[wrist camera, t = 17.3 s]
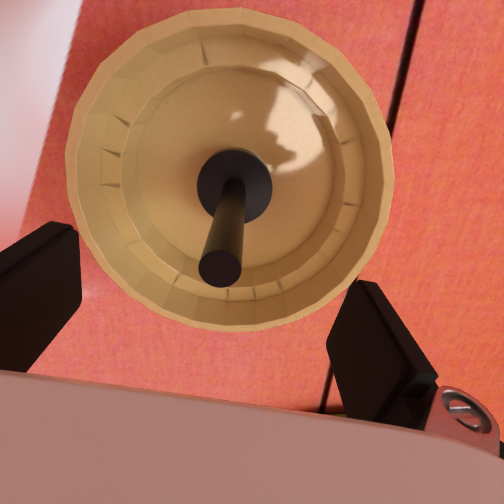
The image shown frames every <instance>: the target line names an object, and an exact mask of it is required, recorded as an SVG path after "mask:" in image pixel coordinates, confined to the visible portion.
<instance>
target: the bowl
mask: <svg viewBox="0 0 504 504" xmlns="http://www.w3.org/2000/svg"><path fill="white" fill-rule="evenodd" d="M226 148H243V149H246V150H249V151H251V152H253V153H254V154H256V155H257V156H259V157H260V158H261V159H262V160H263V162H264V163H265V164H266V166H267V168H268V170H269V172H270V176H271V180H272V187H273V189H272V197H271V200H270V203H269V205H268V207H267V208H266V210H265V211H264V212H263V213H262V214H261V215H260V216H259V217H258V218H256V219H255V220H253V221H251V222H248V223H245V224H244V236H243V255H242V272H241V276H240V278H239V279H238V281H237V282H236V283H234V284H233V285H231V286H229V287H225V288H216V287H213V286H210V285H208V284H207V283H205V282H204V281H203V280H202V278H201V276H200V274H199V271H198V265H199V261H200V258H201V255H202V252H203V249H204V246H205V243H206V240H207V236H208V233H209V230H210V227H211V224H212V221H213V217H212V216H210V215H209V214H208V213H207V212H206V210H205V209H204V208H203V206H202V205H201V203H200V201H199V198H198V194H197V179H198V175H199V172H200V170H201V168H202V167H203V165H204V164H205V162H206V161H207V160H208V159H209V158H210V157H211V156H212V155H213V154H215V153H216V152H218V151H220V150H223V149H226ZM64 155H65V171H66V187H67V196H68V200H69V203H70V206H71V209H72V212H73V215H74V218H75V221H76V224H77V227H78V230H79V233H80V235H81V237H82V239H83V240H84V242H85V244H86V245H87V247H88V248H89V250H90V252H91V253H92V255H93V256H94V258H95V260H96V261H97V263H98V264H99V266H100V267H101V268H102V270H103V271H104V272H105V273H106V274H107V275H108V276H109V277H110V278H111V279H112V280H113V281H114V282H115V283H116V284H117V285H118V286H119V287H120V288H121V289H122V290H123V291H124V292H125V293H126V294H128V296H130V297H132V298H133V299H135V300H136V301H138V302H139V303H141V304H142V305H144V306H146V307H147V308H149V309H150V310H152V311H153V312H155V313H156V314H159V315H161V316H163V317H166V318H169V319H171V320H174V321H176V322H179V323H182V324H184V325H187V326H191V327H194V328H200V329H206V330H212V331H218V332H249V331H261V330H265V329H269V328H273V327H277V326H281V325H285V324H289V323H292V322H294V321H296V320H298V319H300V318H302V317H304V316H306V315H309V314H311V313H313V312H315V311H317V310H319V309H321V308H322V307H324V306H325V305H326V304H327V303H329V302H330V301H331V300H332V299H334V298H335V297H336V296H337V295H339V294H340V293H341V292H342V291H344V290H345V289H346V288H347V287H349V285H350V284H351V283H352V282H353V280H354V279H355V278H356V277H357V275H358V274H359V273H360V272H361V270H362V269H363V268H364V266H365V265H366V264H367V263H368V261H369V260H370V259H371V257H372V256H373V254H374V252H375V250H376V247H377V245H378V243H379V241H380V239H381V236H382V234H383V232H384V230H385V227H386V225H387V223H388V219H389V213H390V207H391V201H392V195H393V189H394V183H395V176H394V166H393V157H392V147H391V137H390V134H389V131H388V129H387V126H386V124H385V121H384V119H383V116H382V114H381V111H380V109H379V106H378V104H377V101H376V99H375V97H374V94H373V92H372V90H371V89H370V87H369V86H368V85H367V84H366V82H365V81H364V80H363V79H362V77H361V76H360V75H359V74H358V72H357V71H356V70H355V69H354V68H353V66H352V65H351V64H350V63H349V61H348V60H347V59H346V58H345V56H344V55H343V54H342V53H341V52H340V51H339V50H338V49H336V48H335V47H333V46H332V45H330V44H329V43H327V42H326V41H324V40H323V39H321V38H320V37H318V36H317V35H315V34H314V33H312V32H311V31H309V30H308V29H306V28H305V27H303V26H302V25H300V24H299V23H297V22H294V21H292V20H288V19H285V18H281V17H277V16H274V15H270V14H266V13H263V12H259V11H256V10H252V9H248V8H245V7H243V8H242V7H230V8H213V9H196V10H188V11H184V12H181V13H179V14H176V15H174V16H172V17H169V18H167V19H164V20H162V21H160V22H157V23H155V24H152V25H150V26H147V27H145V28H143V29H140V30H139V31H136V32H135V33H134V34H133V35H132V36H131V37H129V38H128V39H127V40H126V41H125V42H124V43H123V44H122V45H120V46H119V47H118V48H117V49H116V50H115V51H114V52H113V53H111V54H110V55H109V56H108V57H107V58H106V59H105V60H103V61H102V62H101V63H100V64H99V66H98V67H97V69H96V71H95V72H94V74H93V76H92V78H91V79H90V81H89V83H88V84H87V86H86V88H85V90H84V91H83V93H82V95H81V97H80V98H79V100H78V102H77V103H76V105H75V108H74V111H73V116H72V120H71V124H70V129H69V133H68V138H67V142H66V147H65V153H64Z"/></svg>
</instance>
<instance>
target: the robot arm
mask: <svg viewBox="0 0 504 504" xmlns="http://www.w3.org/2000/svg"><path fill="white" fill-rule="evenodd" d="M81 301H82V286H81V268H80V250H79V234H78V231H76V230H74V229H73V227H72V226H71V225H69V224H64V223H59V222H53V221H50V222H48V223H46V224H45V225H43V226H41V227H40V228H38V229H37V230H35V231H33V232H32V233H30V234H29V235H27V236H25V237H24V238H22V239H21V240H19V241H17V242H16V243H14V244H13V245H11V246H9V247H8V248H6V249H5V250H3V251H1V252H0V504H504V443H503V442H502V441H500V431H499V426H498V424H497V422H496V420H495V418H494V417H493V415H492V414H491V413H490V412H489V410H488V409H487V408H486V407H485V406H484V405H483V404H481V403H480V402H479V401H478V400H477V399H475V398H474V397H472V396H471V395H470V394H468V393H466V392H464V391H462V390H460V389H457V388H454V387H451V386H442V387H438V385H437V384H436V382H435V380H436V379H437V378H438V374H437V373H436V371H435V370H434V368H433V367H432V365H431V364H430V362H429V361H428V359H427V358H426V356H425V355H424V353H423V352H422V350H421V349H420V347H419V346H418V344H417V343H416V341H415V340H414V338H413V337H412V335H411V334H410V332H409V331H408V329H407V328H406V326H405V325H404V323H403V322H402V320H401V319H400V317H399V316H398V314H397V313H396V311H395V310H394V308H393V307H392V305H391V304H390V302H389V301H388V299H387V298H386V296H385V295H384V293H383V292H382V290H381V289H380V287H379V286H378V284H377V283H375V282H369V281H364V280H358V281H357V282H356V283H352V284H351V286H350V288H349V290H348V293H347V295H346V297H345V299H344V302H343V304H342V306H341V308H340V311H339V313H338V315H337V317H336V320H335V322H334V324H333V326H332V329H331V331H330V333H329V335H328V338H327V341H326V348H327V352H328V355H329V359H330V362H331V366H332V369H333V372H334V376H335V379H336V382H337V386H338V389H339V393H340V396H341V399H342V403H343V406H344V409H345V413H346V416H347V418H345V417H338V416H331V415H324V414H318V413H311V412H304V411H297V410H290V409H283V408H277V407H270V406H263V405H256V404H249V403H242V402H235V401H228V400H221V399H214V398H207V397H200V396H192V395H185V394H178V393H171V392H164V391H157V390H149V389H142V388H135V387H128V386H120V385H113V384H105V383H98V382H91V381H83V380H76V379H68V378H61V377H53V376H46V375H39V374H31V373H26V372H27V371H28V370H29V368H30V367H31V366H32V365H33V364H34V362H35V361H36V360H37V359H38V357H39V356H40V355H41V354H42V352H43V351H44V350H45V349H46V348H47V346H48V345H49V344H50V343H51V341H52V340H53V339H54V338H55V336H56V335H57V334H58V333H59V332H60V330H61V329H62V328H63V327H64V325H65V324H66V323H67V322H68V320H69V319H70V318H71V317H72V316H73V314H74V313H75V312H76V311H77V309H78V308H79V307H80V304H81Z"/></svg>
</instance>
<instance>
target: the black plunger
mask: <svg viewBox="0 0 504 504" xmlns="http://www.w3.org/2000/svg"><path fill="white" fill-rule="evenodd" d="M272 189H273V187H272V180H271V176H270V172H269V170H268V168H267V166H266V164H265V163H264V162H263V160H262V159H261V158H260V157H259V156H257V155H256V154H254V153H253V152H251V151H249V150H246V149H243V148H226V149H223V150H220V151H218V152H216V153H215V154H213V155H212V156H211V157H210V158H209V159H208V160H207V161H206V162H205V164H204V165H203V167H202V168H201V170H200V172H199V175H198V179H197V194H198V198H199V201H200V203H201V205H202V206H203V208H204V209H205V210H206V212H207V213H208V214H209V215H210V216H212V217H213V221H212V224H211V227H210V230H209V233H208V236H207V240H206V243H205V246H204V249H203V252H202V255H201V258H200V261H199V265H198V271H199V274H200V276H201V278H202V280H203V281H204V282H205V283H207V284H208V285H210V286H213V287H216V288H225V287H229V286H231V285H233V284H234V283H236V282H237V281H238V279H239V278H240V276H241V272H242V255H243V236H244V224H245V223H248V222H251V221H253V220H255V219H256V218H258V217H259V216H260V215H261V214H262V213H263V212H264V211H265V210H266V208H267V207H268V205H269V203H270V200H271V197H272Z"/></svg>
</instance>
